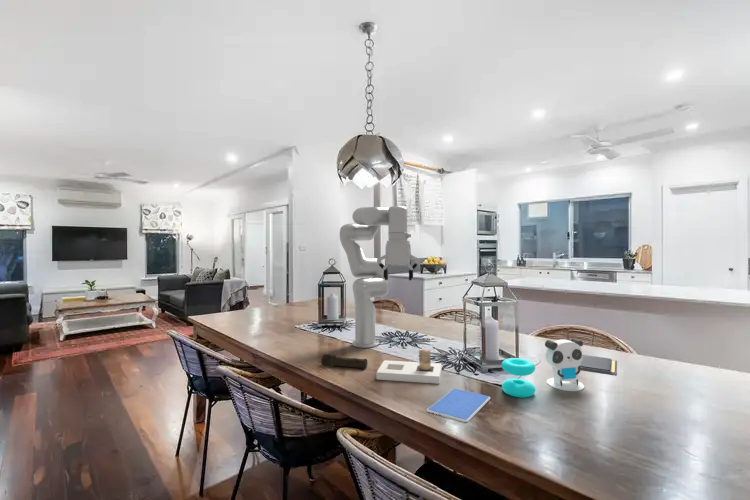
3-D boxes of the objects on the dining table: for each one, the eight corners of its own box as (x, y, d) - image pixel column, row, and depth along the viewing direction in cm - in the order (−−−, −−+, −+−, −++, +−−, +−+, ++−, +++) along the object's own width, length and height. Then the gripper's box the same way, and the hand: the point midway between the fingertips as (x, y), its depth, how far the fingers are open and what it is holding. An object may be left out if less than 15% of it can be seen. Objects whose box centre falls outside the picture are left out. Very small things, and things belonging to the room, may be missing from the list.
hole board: (384, 366, 149) (384, 360, 148) (441, 370, 144) (441, 363, 144) (376, 379, 135) (376, 372, 135) (439, 383, 130) (439, 376, 130)
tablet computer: (467, 425, 102) (467, 420, 102) (425, 413, 109) (425, 409, 109) (491, 400, 117) (491, 396, 117) (453, 391, 125) (453, 387, 125)
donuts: (502, 355, 128) (534, 358, 124) (502, 385, 128) (534, 388, 125) (501, 364, 119) (535, 368, 115) (501, 396, 119) (536, 400, 115)
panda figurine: (558, 392, 121) (558, 345, 121) (537, 379, 133) (537, 336, 132) (592, 389, 123) (592, 343, 123) (569, 377, 134) (569, 335, 134)
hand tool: (368, 367, 148) (368, 355, 148) (364, 370, 145) (364, 358, 145) (324, 363, 155) (324, 351, 155) (320, 366, 151) (319, 354, 151)
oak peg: (419, 373, 140) (419, 349, 140) (431, 374, 140) (430, 349, 139) (418, 377, 136) (418, 352, 136) (430, 378, 136) (430, 352, 135)
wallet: (576, 352, 160) (619, 358, 152) (576, 356, 160) (618, 362, 152) (568, 365, 144) (616, 372, 135) (568, 370, 144) (616, 377, 135)
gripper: (420, 237, 154) (420, 279, 154) (378, 237, 158) (379, 278, 158) (418, 236, 147) (419, 281, 147) (374, 237, 150) (375, 280, 151)
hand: (398, 279), depth 153 cm, fingers open, 9 cm apart
